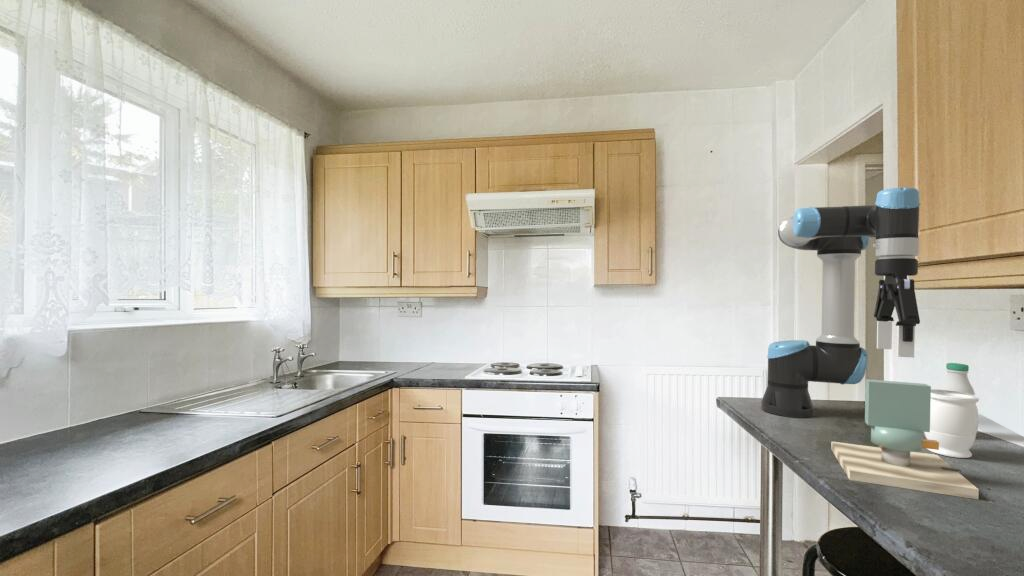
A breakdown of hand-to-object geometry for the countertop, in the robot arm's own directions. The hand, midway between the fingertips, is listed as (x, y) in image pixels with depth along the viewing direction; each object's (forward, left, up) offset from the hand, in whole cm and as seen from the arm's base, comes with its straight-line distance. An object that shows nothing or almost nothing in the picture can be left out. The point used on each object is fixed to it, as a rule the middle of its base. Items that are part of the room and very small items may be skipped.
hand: (894, 352), depth 107 cm
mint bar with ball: (0, +2, -21) cm, 21 cm away
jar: (-21, +17, -27) cm, 38 cm away
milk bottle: (-41, +25, -27) cm, 55 cm away
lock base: (0, +1, -27) cm, 27 cm away
